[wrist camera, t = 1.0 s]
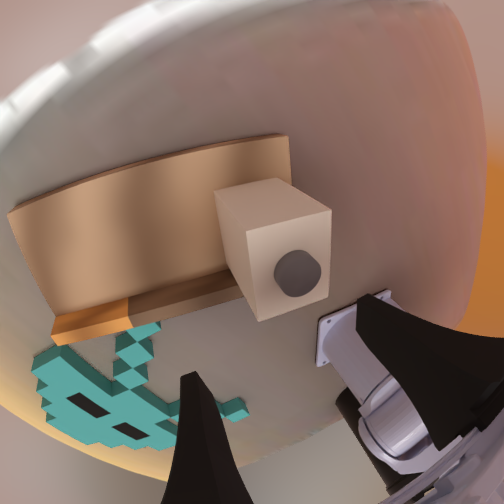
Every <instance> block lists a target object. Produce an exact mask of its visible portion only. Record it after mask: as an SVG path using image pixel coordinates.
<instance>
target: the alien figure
mask: <svg viewBox="0 0 504 504" xmlns="http://www.w3.org/2000/svg"><path fill="white" fill-rule="evenodd" d="M160 330H161V324H160V321H157V322H154V323H150V324H146V325H143V326H139V327H135V328H131V329H127V330H126V331H127V332H126V333H124V334H122V335H120V336H118V337H116V349H115V353H116V354H117V355H118V356H119V357H120V358H121V359H119V360H117V361H115V362H113V377H114V378H115V379H116V381H114V382H112V383H111V382H110V381H109V380H108V379H106V378H105V377H104V376H102V375H101V374H100V373H99V372H97V371H96V370H95V369H94V368H93V367H91V366H90V365H89V364H88V363H87V362H85V361H84V360H83V359H82V358H81V357H80V356H78V355H77V354H76V353H75V352H74V351H73V350H72V349H71V348H69V347H68V346H67V345H66V344H65V345H61V346H57V345H55V346H53V347H52V348H50V349H48V350H47V351H45V352H43V353H41V354H40V355H38V356H36V357H35V358H34V361H33V365H32V369H31V372H32V373H33V374H34V375H35V376H37V377H38V378H39V379H38V384H37V390H36V392H37V393H39V394H40V395H41V396H43V398H42V405H41V408H42V409H43V410H45V411H46V412H47V415H46V422H47V423H49V424H50V425H52V426H53V427H55V428H57V429H58V430H60V431H62V432H64V433H65V434H67V435H69V436H71V437H73V438H74V439H76V440H78V441H80V442H82V443H84V444H86V445H89V444H93V443H96V442H100V443H102V444H104V445H106V446H108V447H110V448H113V447H116V446H120V445H125V446H128V447H130V448H132V449H134V450H136V449H140V448H143V447H146V446H149V447H151V448H154V449H156V450H158V451H160V450H163V449H166V448H169V447H172V446H175V444H176V437H177V430H178V426H176V425H174V424H172V423H171V422H169V421H167V420H166V419H168V418H172V419H174V420H175V421H177V422H178V419H179V408H180V400H178V401H175V402H173V403H170V404H167V403H165V402H164V401H162V400H161V399H159V398H158V397H157V396H155V395H154V394H153V393H151V392H150V391H149V390H147V389H146V388H145V387H143V386H142V385H141V384H144V383H146V382H148V381H149V380H148V372H147V366H146V365H145V364H144V363H145V362H147V361H149V360H151V359H153V358H154V353H153V345H152V342H151V341H150V340H149V339H148V338H147V337H148V336H150V335H152V334H154V333H156V332H158V331H160ZM215 402H216V405H217V407H218V410H219V412H220V415H221V418H224V417H226V418H228V419H229V420H230V421H232V422H233V423H234V422H236V421H238V420H241V419H243V418H245V417H247V416H249V415H250V414H249V412H248V409H247V407H246V404H245V403H244V402H243V401H242V400H241V399H239V398H238V397H237V398H235V399H233V400H231V401H229V402H226V403H224V404H222V405H221V404H219V403H218V402H217V401H216V400H215Z"/></svg>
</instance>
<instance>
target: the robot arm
mask: <svg viewBox="0 0 504 504" xmlns="http://www.w3.org/2000/svg"><path fill="white" fill-rule="evenodd" d="M390 296H391V291H390V290H385V291H383V292H381V293H379V294H377V295H375V296H372V295H370V294H366V295H364V296H362V297H361V298H359V299H357V304H354V305H352V306H350V307H347V308H345V309H343V310H340V311H338V312H336V313H333V314H331V315H328V316H326V317H323V318H321V319H320V321H319V327H318V342H317V354H316V366H317V367H320V366H323V365H325V364H327V363H329V362H330V363H331V364H332V365H333V367H334V368H335V369H336V371H337V372H338V374H339V375H340V376H341V378H342V379H343V381H344V382H345V383H346V385H347V386H348V387H349V389H350V390H351V392H352V393H353V394H354V396H355V397H356V398H357V400H358V401H359V403H360V404H361V405H362V406H361V407H360V408H359V409H358V410H359V412H360V413H361V415H362V417H361V418H360V419H359V427H358V430H359V434H360V436H361V438H362V440H363V442H364V443H365V445H366V446H367V448H368V449H369V450H370V451H371V452H372V453H373V454H374V455H375V456H376V457H377V458H378V459H380V460H382V461H384V462H386V463H387V464H388V465H389V466H390V467H392V468H393V469H394V470H395V471H398V473H399V474H411V473H419V472H424V473H422V474H421V475H420V476H418V477H417V478H416V479H414V480H413V481H412V482H410V483H409V484H407V485H406V486H405V487H403V488H402V489H400V490H399V491H397V492H396V493H394V494H393V495H391V496H390V497H388V498H387V499H385V500H383V501H382V502H380V503H378V504H404V503H405V502H406V501H408V500H409V499H411V498H412V497H414V496H415V495H416V494H418V493H419V492H420V491H422V490H423V489H424V488H426V487H427V486H428V485H430V484H431V483H432V482H433V481H435V480H436V479H437V478H438V477H439V479H438V480H437V481H436V482H435V483H434V485H433V486H434V487H435V489H434V490H432V491H431V492H430V493H428V494H427V495H426V496H424V497H423V498H421V499H420V500H418V501H417V502H415V503H414V504H504V338H495V337H486V336H479V335H473V334H468V333H463V332H459V331H455V330H452V329H449V328H445V327H442V326H439V325H436V324H433V323H431V322H428V321H426V320H423V319H421V318H418V317H416V316H414V315H412V314H409V313H407V312H406V311H405V310H403V309H402V308H401V307H400V306H399V305H398V304H397V303H396V302H395V301H394V300H392V299H391V298H390ZM161 504H254V503H253V501H252V499H251V497H250V495H249V493H248V491H247V490H246V487H245V485H244V483H243V481H242V479H241V476H240V474H239V472H238V470H237V467H236V465H235V462H234V459H233V456H232V452H231V449H230V446H229V442H228V439H227V435H226V432H225V428H224V425H223V421H222V418H221V415H220V412H219V410H218V407H217V405H216V402H215V399H214V397H213V395H212V393H211V392H210V390H209V389H208V388H207V386H206V385H205V383H204V382H203V381H202V379H201V378H200V376H199V375H198V373H197V372H196V371H194V372H191V373H189V374H186V375H183V376H181V378H180V408H179V419H178V430H177V437H176V444H175V451H174V457H173V462H172V466H171V471H170V475H169V479H168V483H167V486H166V490H165V493H164V496H163V499H162V502H161Z"/></svg>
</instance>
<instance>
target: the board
mask: <svg viewBox="0 0 504 504" xmlns="http://www.w3.org/2000/svg"><path fill="white" fill-rule="evenodd" d="M276 177H277V178H279V179H281V180H282V181H284V182H286V183H288V184H289V185H291V186H292V180H291V166H290V153H289V141H288V136H286V135H282V134H272V135H264V136H257V137H251V138H245V139H239V140H233V141H227V142H222V143H216V144H211V145H206V146H201V147H197V148H192V149H188V150H183V151H179V152H175V153H170V154H166V155H162V156H158V157H154V158H151V159H147V160H143V161H140V162H136V163H133V164H129V165H126V166H122V167H119V168H116V169H112V170H109V171H106V172H103V173H100V174H97V175H94V176H91V177H88V178H85V179H82V180H79V181H77V182H74V183H71V184H68V185H66V186H63V187H61V188H58V189H55V190H53V191H50V192H48V193H45V194H43V195H40V196H38V197H36V198H33V199H31V200H29V201H26V202H24V203H22V204H20V205H17V206H15V207H14V208H13V209H12V210H11V211H10V212H9V213H8V214H7V217H8V219H9V222H10V225H11V227H12V230H13V232H14V235H15V237H16V240H17V242H18V244H19V247H20V249H21V251H22V254H23V256H24V258H25V260H26V262H27V264H28V266H29V269H30V271H31V273H32V275H33V277H34V279H35V280H36V282H37V284H38V286H39V288H40V290H41V292H42V294H43V295H44V297H45V299H46V301H47V303H48V304H49V306H50V308H51V309H52V311H53V313H54V314H55V316H56V318H55V322H54V325H53V329H52V332H51V337H52V339H53V340H54V342H55V343H56V344H57V346H61V345H65V344H70V343H74V342H78V341H83V340H87V339H91V338H95V337H99V336H103V335H107V334H111V333H115V332H119V331H123V330H127V329H131V328H135V327H139V326H143V325H146V324H150V323H154V322H157V321H161V320H165V319H168V318H172V317H176V316H179V315H183V314H186V313H190V312H193V311H197V310H200V309H204V308H207V307H210V306H214V305H217V304H221V303H224V302H227V301H231V300H234V299H237V298H240V297H244V295H243V293H242V291H241V289H240V287H239V285H238V283H237V282H236V280H235V278H234V276H233V274H232V272H231V270H230V268H229V267H228V265H227V263H226V257H225V252H224V247H223V242H222V236H221V231H220V225H219V220H218V214H217V208H216V203H215V197H214V191H215V190H219V189H223V188H228V187H232V186H237V185H241V184H246V183H251V182H256V181H260V180H265V179H270V178H276Z"/></svg>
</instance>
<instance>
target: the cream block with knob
mask: <svg viewBox="0 0 504 504" xmlns="http://www.w3.org/2000/svg"><path fill="white" fill-rule="evenodd" d="M214 197H215V203H216V208H217V214H218V220H219V225H220V231H221V236H222V242H223V247H224V252H225V257H226V263H227V265H228V267H229V268H230V270H231V272H232V274H233V276H234V278H235V280H236V282H237V283H238V285H239V287H240V289H241V291H242V293H243V295H244V296H245V298H246V300H247V302H248V304H249V306H250V308H251V309H252V311H253V313H254V315H255V317H256V318H257V320H258V322H260V321H263V320H266V319H269V318H272V317H275V316H277V315H280V314H283V313H286V312H289V311H292V310H294V309H297V308H300V307H303V306H305V305H308V304H311V303H314V302H316V301H319V300H322V299H324V298H327V297H328V294H329V277H330V256H331V215H332V210H331V209H330V208H328V207H326V206H325V205H323V204H321V203H320V202H318V201H316V200H315V199H313V198H311V197H310V196H308V195H306V194H305V193H303V192H301V191H300V190H298V189H296V188H295V187H293V186H291V185H289V184H288V183H286V182H284V181H282V180H281V179H279V178H277V177H276V178H270V179H265V180H260V181H256V182H251V183H246V184H241V185H237V186H232V187H228V188H223V189H219V190H215V191H214Z"/></svg>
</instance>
